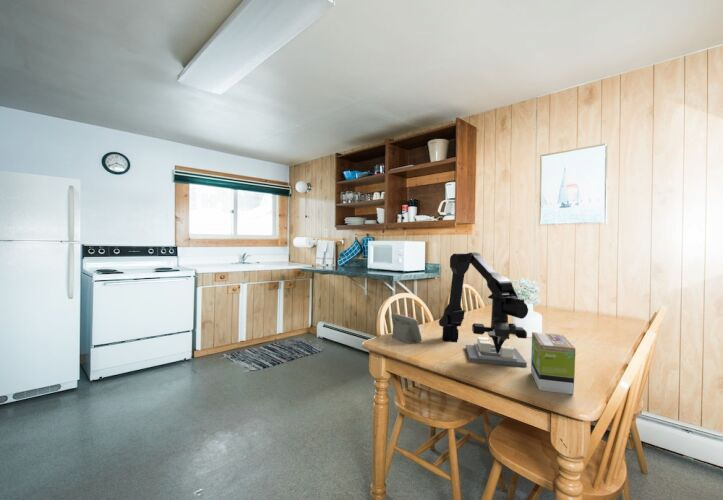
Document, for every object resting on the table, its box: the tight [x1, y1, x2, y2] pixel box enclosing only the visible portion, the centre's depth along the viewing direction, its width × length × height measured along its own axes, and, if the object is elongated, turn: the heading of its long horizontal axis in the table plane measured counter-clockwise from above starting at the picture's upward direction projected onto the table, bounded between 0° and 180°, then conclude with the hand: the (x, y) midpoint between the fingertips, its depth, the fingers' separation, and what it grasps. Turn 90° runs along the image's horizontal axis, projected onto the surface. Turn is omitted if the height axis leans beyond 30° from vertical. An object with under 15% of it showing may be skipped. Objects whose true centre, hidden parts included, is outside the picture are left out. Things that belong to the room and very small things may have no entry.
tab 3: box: [500, 345, 515, 358], centre depth 132 cm, size 4×4×4 cm
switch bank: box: [465, 342, 528, 368], centre depth 137 cm, size 20×16×2 cm
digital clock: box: [391, 312, 423, 344], centre depth 159 cm, size 16×9×11 cm, turn 25°
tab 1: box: [476, 336, 490, 347], centre depth 143 cm, size 4×4×4 cm
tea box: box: [530, 331, 576, 395], centre depth 114 cm, size 15×10×15 cm
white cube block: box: [479, 340, 492, 352], centre depth 138 cm, size 4×4×4 cm
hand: (497, 353), depth 132 cm, fingers closed
